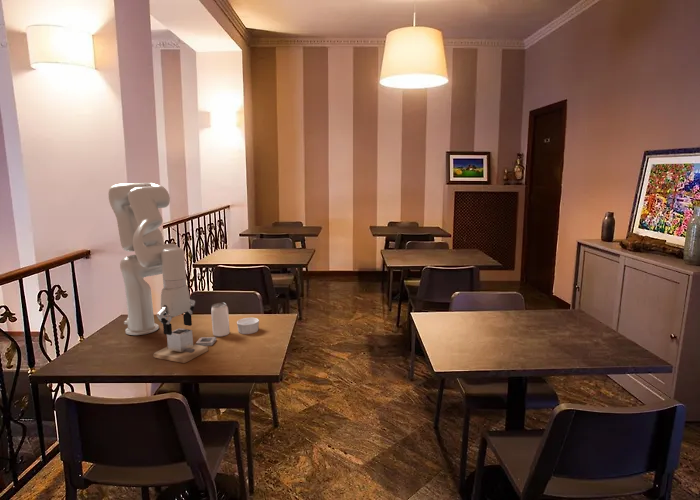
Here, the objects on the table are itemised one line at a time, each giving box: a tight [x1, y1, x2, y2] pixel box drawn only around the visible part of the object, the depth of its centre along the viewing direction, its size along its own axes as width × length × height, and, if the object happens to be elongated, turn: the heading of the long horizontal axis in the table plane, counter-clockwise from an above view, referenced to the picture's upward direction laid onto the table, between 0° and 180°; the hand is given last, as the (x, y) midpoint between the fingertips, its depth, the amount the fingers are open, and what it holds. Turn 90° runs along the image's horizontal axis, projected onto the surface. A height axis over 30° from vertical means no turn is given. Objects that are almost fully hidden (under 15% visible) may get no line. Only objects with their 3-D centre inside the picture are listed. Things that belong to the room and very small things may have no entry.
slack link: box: [195, 336, 217, 347], centre depth 180 cm, size 6×6×1 cm
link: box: [166, 327, 194, 352], centre depth 169 cm, size 6×6×6 cm
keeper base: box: [152, 330, 209, 364], centre depth 169 cm, size 14×12×8 cm
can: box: [210, 302, 231, 338], centre depth 189 cm, size 6×6×12 cm
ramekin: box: [236, 317, 260, 335], centre depth 192 cm, size 9×9×4 cm
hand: (178, 329), depth 169 cm, fingers open, 9 cm apart
